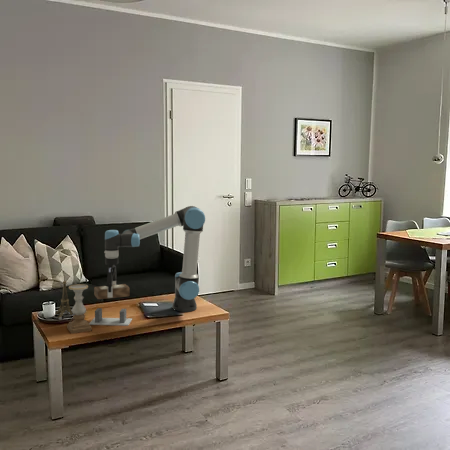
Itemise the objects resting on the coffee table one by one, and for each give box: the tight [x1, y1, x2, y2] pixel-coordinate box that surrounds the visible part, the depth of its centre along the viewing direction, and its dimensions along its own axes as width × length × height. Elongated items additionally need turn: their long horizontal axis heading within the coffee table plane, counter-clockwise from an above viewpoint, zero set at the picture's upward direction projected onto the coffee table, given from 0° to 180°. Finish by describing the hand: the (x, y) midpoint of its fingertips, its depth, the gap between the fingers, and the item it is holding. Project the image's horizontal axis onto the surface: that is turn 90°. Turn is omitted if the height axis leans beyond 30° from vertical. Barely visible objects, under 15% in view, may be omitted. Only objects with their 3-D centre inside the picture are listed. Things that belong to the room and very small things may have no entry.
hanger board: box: [88, 307, 133, 327], centre depth 288 cm, size 22×11×7 cm, turn 89°
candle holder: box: [66, 283, 93, 335], centre depth 274 cm, size 11×11×24 cm
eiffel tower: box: [55, 276, 73, 318], centre depth 296 cm, size 11×11×25 cm
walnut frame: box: [93, 283, 131, 300], centre depth 291 cm, size 18×9×5 cm, turn 118°
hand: (111, 294), depth 291 cm, fingers closed on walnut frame, 11 cm apart
